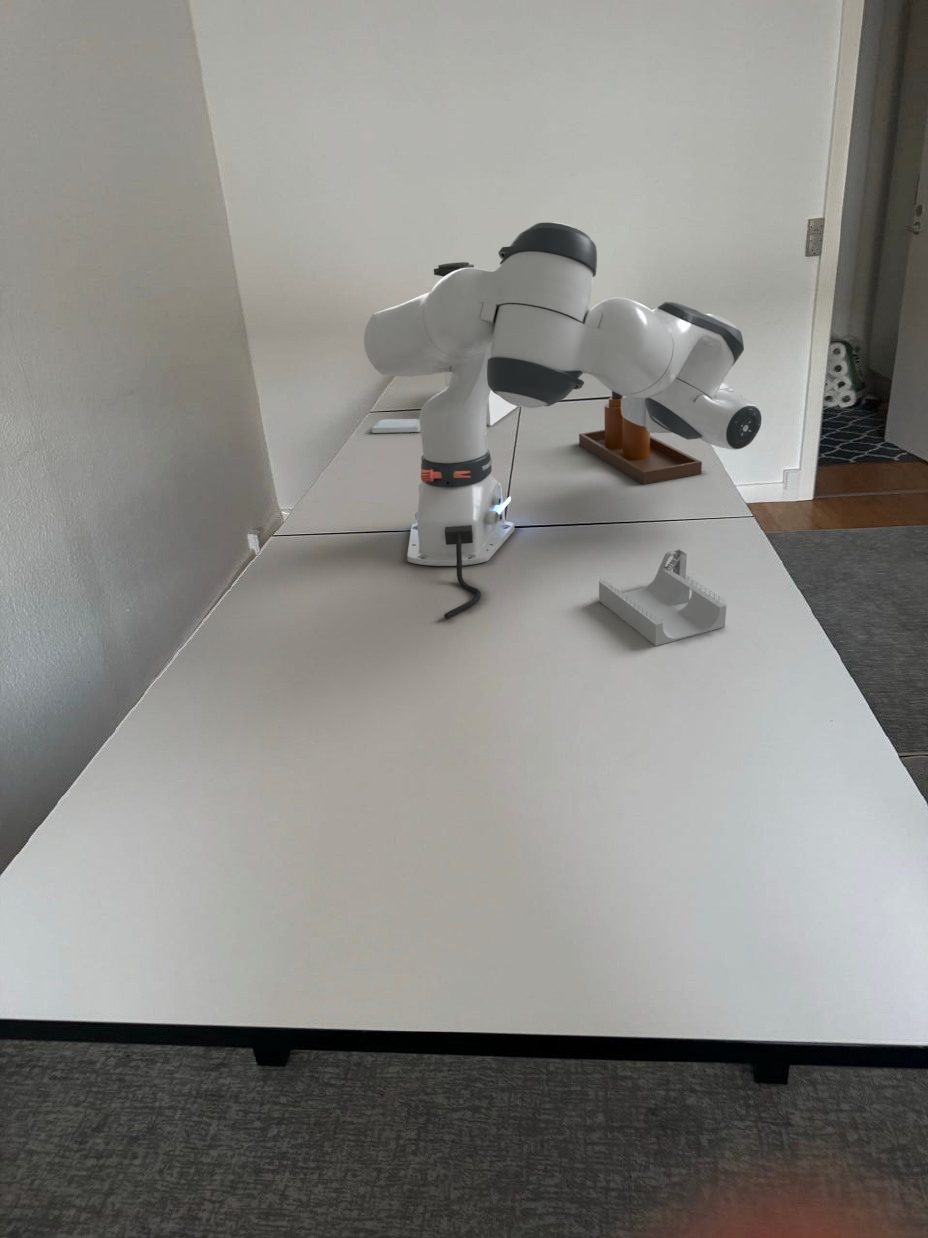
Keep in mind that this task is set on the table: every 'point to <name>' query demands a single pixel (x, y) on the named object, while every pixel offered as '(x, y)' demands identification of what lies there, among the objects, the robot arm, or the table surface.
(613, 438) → the amber bottle far
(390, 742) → the table surface
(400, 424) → the hard drive
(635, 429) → the amber bottle middle
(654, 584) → the grey plastic cradle
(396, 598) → the table surface
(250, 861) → the table surface
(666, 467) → the tray
